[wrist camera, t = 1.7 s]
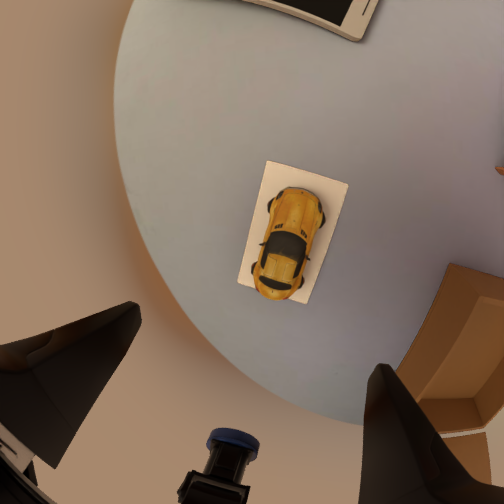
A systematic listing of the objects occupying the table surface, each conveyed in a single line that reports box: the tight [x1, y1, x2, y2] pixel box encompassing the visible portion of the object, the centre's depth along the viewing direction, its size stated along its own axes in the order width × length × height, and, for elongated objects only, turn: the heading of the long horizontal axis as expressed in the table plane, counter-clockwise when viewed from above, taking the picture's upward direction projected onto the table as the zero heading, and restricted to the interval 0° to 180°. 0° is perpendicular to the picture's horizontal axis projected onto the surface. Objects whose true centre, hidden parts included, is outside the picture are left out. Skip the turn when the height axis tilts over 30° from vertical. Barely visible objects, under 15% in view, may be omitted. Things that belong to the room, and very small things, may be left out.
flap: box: [442, 432, 492, 485], centre depth 14 cm, size 8×15×1 cm
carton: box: [395, 263, 504, 434], centre depth 17 cm, size 16×15×6 cm
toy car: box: [237, 160, 349, 304], centre depth 19 cm, size 4×8×2 cm, turn 167°
